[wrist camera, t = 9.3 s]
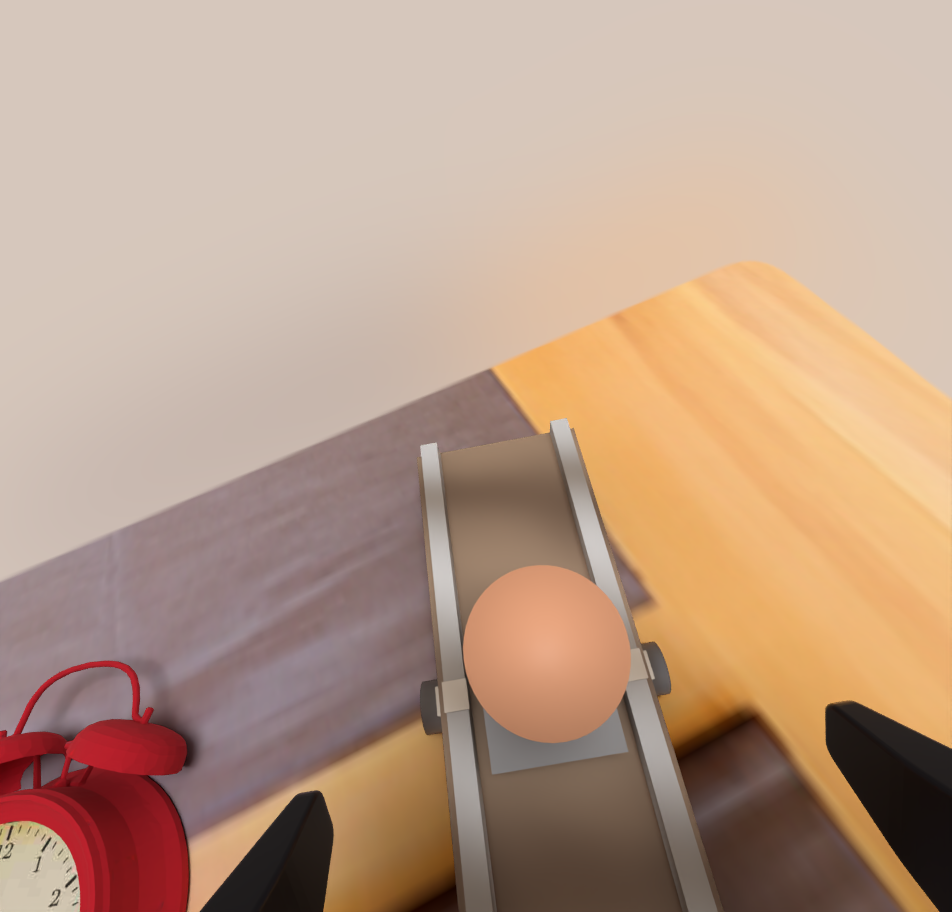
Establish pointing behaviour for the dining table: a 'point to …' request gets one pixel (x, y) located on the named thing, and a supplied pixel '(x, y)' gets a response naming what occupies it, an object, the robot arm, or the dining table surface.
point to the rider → (547, 668)
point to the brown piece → (565, 784)
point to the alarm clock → (93, 817)
